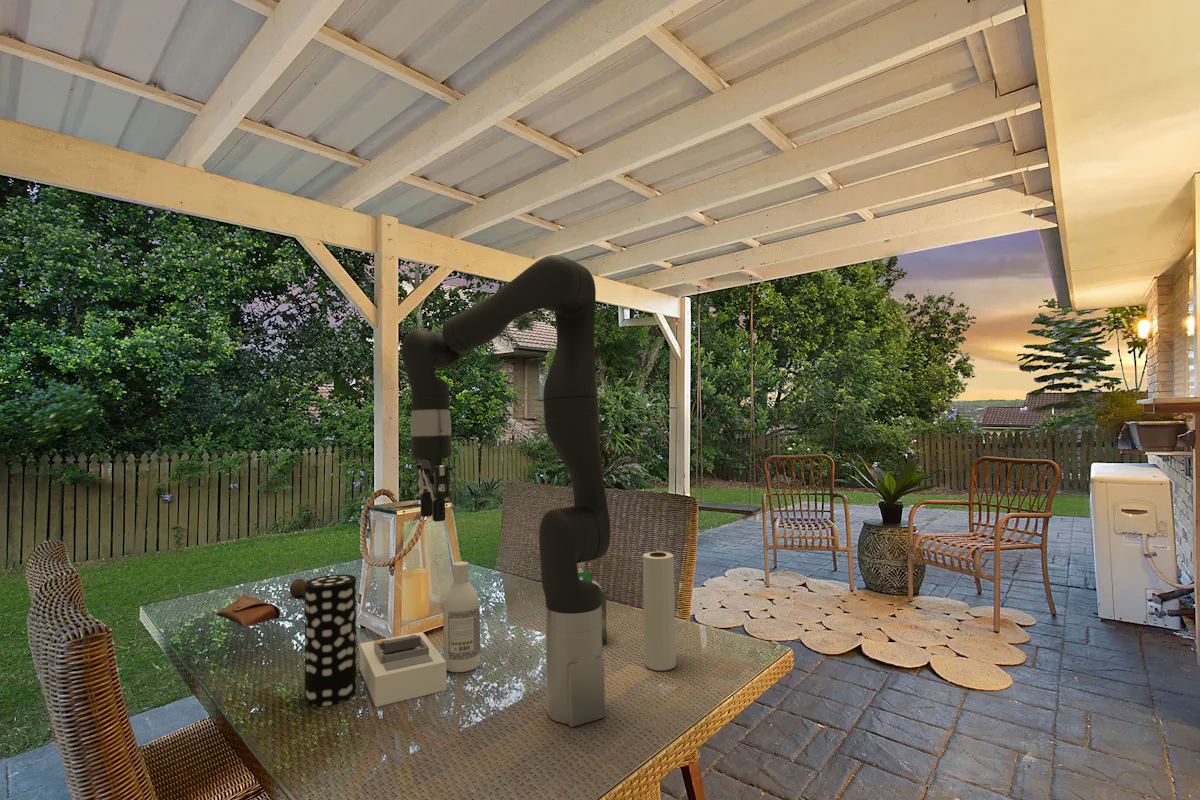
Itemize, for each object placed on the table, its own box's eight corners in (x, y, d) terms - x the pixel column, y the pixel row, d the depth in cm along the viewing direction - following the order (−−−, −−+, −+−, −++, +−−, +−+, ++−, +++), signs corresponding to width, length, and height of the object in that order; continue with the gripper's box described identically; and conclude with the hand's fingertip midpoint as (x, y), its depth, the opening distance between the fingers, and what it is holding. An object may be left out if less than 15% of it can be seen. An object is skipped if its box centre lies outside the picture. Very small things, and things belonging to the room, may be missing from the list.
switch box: (446, 690, 107) (446, 654, 107) (375, 707, 101) (375, 669, 101) (422, 656, 123) (422, 625, 123) (360, 669, 117) (359, 637, 117)
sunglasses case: (211, 614, 153) (226, 588, 156) (237, 621, 158) (251, 596, 161) (244, 627, 142) (259, 599, 145) (270, 635, 147) (285, 607, 150)
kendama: (310, 593, 173) (365, 598, 165) (281, 604, 164) (337, 609, 156) (309, 572, 173) (364, 576, 165) (280, 582, 164) (336, 586, 156)
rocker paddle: (420, 646, 111) (420, 636, 112) (386, 652, 108) (386, 643, 109) (414, 643, 115) (414, 634, 116) (382, 649, 112) (381, 640, 113)
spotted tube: (300, 709, 101) (300, 588, 101) (310, 688, 109) (309, 576, 109) (353, 702, 103) (352, 584, 104) (359, 682, 111) (358, 573, 112)
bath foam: (486, 666, 117) (485, 563, 118) (453, 676, 113) (452, 569, 113) (470, 656, 122) (469, 557, 123) (437, 665, 118) (437, 562, 119)
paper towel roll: (665, 674, 112) (663, 558, 113) (638, 666, 116) (636, 555, 116) (684, 661, 118) (682, 551, 118) (658, 654, 121) (656, 548, 122)
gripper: (461, 433, 112) (463, 520, 111) (440, 433, 124) (441, 512, 123) (421, 434, 108) (422, 525, 107) (402, 434, 120) (403, 516, 119)
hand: (432, 518), depth 115 cm, fingers open, 8 cm apart
